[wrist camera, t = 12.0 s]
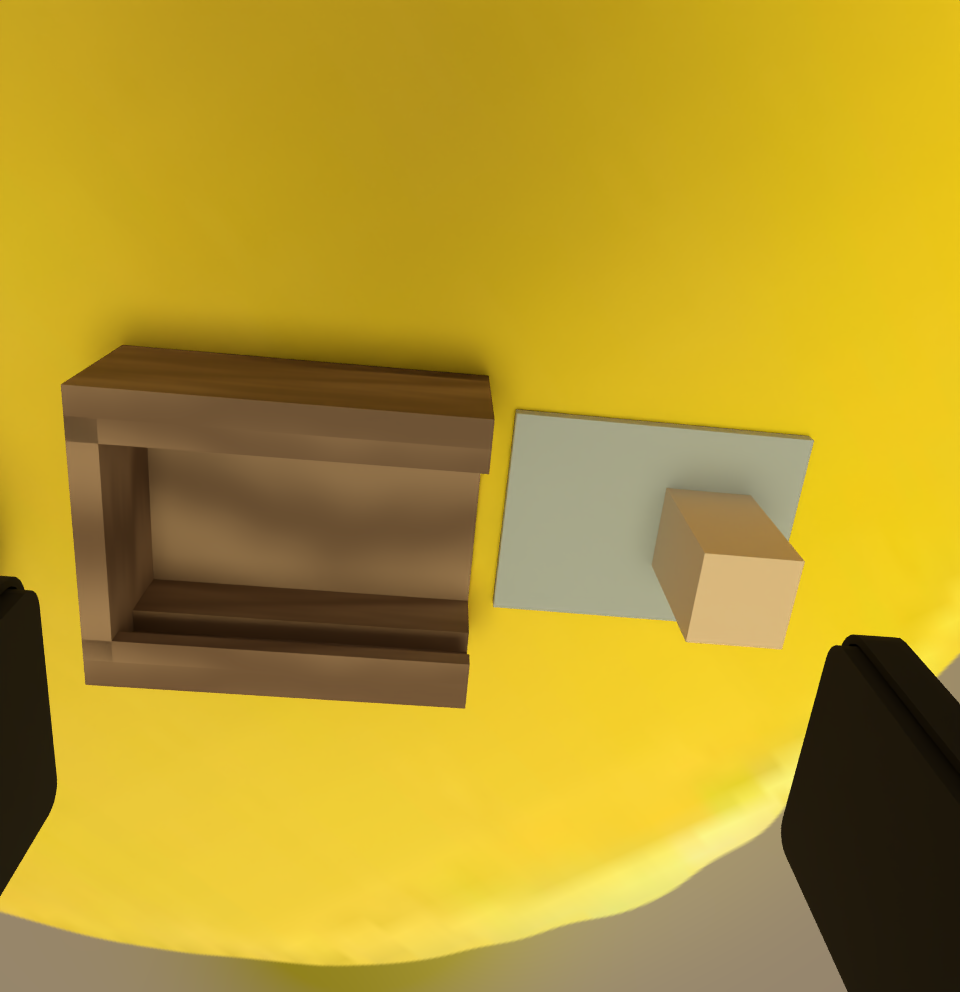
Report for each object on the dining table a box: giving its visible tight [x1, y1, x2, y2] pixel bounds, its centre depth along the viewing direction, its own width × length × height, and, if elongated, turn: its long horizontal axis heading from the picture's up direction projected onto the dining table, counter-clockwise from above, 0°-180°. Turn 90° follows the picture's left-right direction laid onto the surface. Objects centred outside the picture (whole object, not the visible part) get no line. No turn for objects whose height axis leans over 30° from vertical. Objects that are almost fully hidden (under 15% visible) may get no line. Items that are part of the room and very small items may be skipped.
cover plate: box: [493, 409, 814, 649], centre depth 40 cm, size 10×14×8 cm
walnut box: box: [61, 345, 494, 708], centre depth 39 cm, size 13×16×7 cm
